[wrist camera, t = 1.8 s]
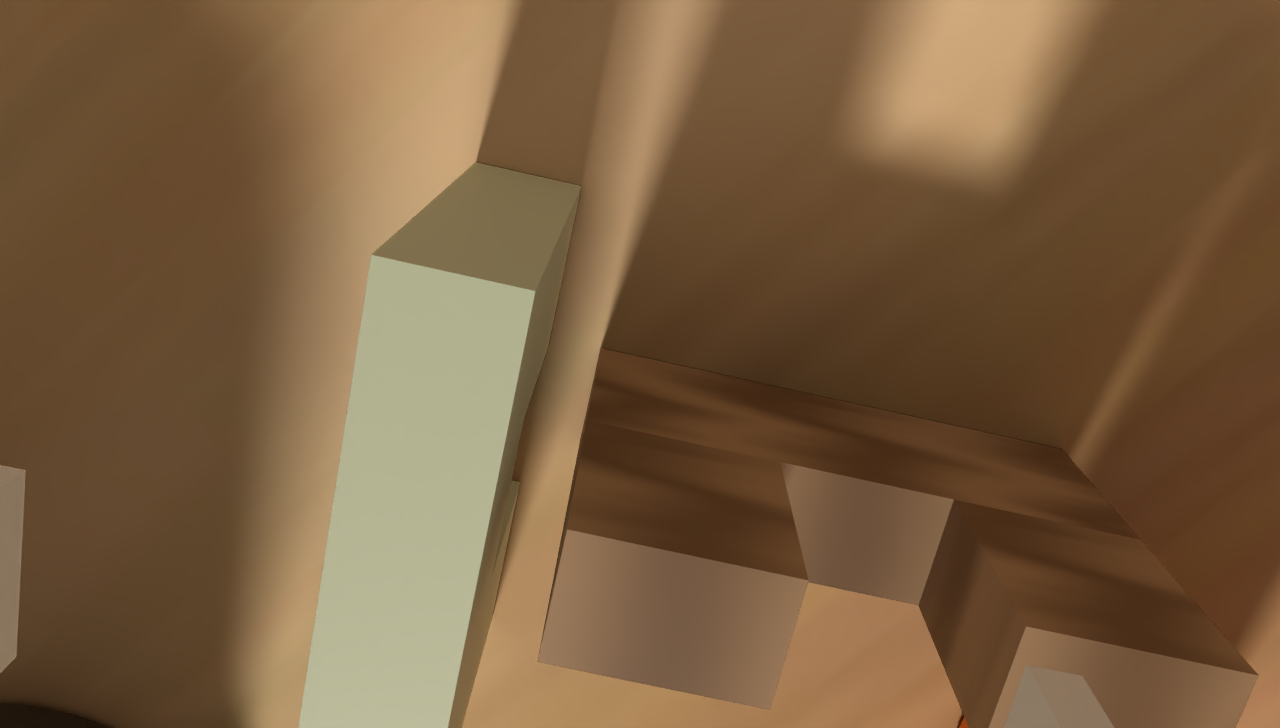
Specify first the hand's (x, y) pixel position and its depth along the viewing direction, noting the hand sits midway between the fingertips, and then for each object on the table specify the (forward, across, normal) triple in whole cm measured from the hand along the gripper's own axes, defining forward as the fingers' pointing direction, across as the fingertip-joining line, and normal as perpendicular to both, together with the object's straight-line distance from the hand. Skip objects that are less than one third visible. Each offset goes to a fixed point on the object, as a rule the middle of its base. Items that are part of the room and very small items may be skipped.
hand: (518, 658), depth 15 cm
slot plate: (+19, -3, -4) cm, 20 cm away
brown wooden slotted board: (+19, +7, -3) cm, 21 cm away
